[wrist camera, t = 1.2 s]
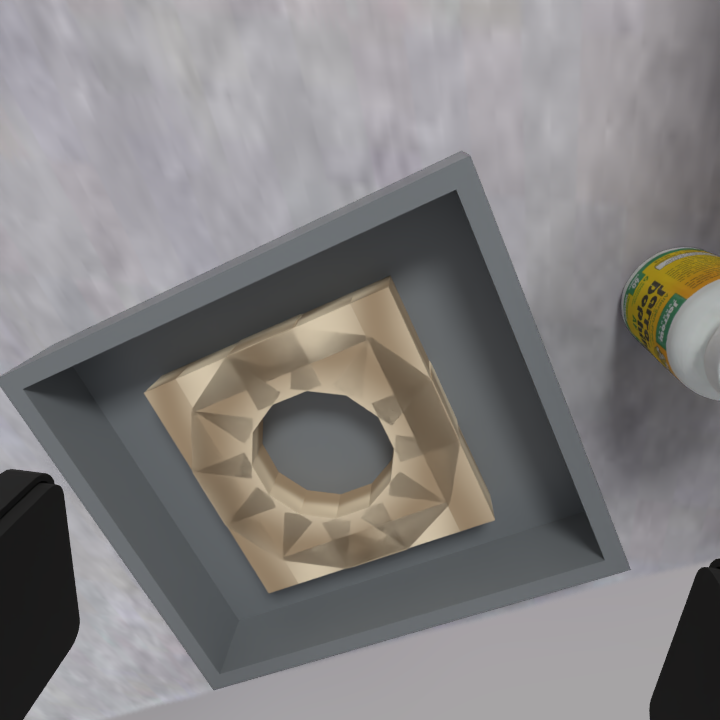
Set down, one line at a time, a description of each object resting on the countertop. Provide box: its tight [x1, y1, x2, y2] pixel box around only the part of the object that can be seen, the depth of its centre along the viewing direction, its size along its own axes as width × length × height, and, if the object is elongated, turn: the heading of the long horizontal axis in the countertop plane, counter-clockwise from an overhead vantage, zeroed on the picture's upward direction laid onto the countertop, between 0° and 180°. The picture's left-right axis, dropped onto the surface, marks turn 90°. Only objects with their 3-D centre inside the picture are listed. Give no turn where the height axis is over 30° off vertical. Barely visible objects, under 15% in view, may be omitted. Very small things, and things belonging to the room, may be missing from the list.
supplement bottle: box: [621, 247, 720, 401], centre depth 26 cm, size 5×5×10 cm
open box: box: [0, 151, 631, 690], centre depth 33 cm, size 25×22×5 cm
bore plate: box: [144, 276, 495, 593], centre depth 33 cm, size 14×14×2 cm
